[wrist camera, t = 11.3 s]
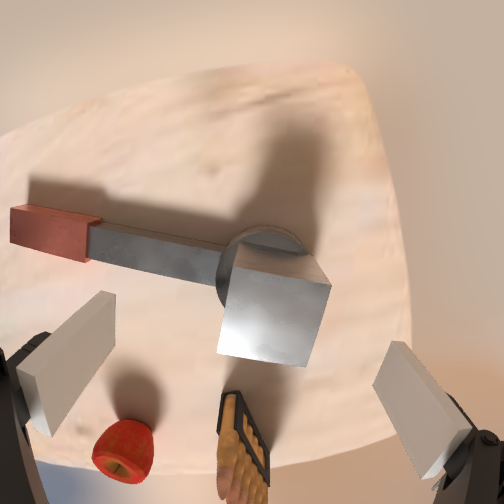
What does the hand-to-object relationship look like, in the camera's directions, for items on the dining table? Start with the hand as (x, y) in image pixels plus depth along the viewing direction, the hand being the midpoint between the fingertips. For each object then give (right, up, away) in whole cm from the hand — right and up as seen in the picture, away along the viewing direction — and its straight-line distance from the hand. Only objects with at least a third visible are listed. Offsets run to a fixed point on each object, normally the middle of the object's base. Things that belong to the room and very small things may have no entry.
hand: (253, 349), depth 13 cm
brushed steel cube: (+1, +2, +8) cm, 9 cm away
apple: (-13, -15, +16) cm, 26 cm away
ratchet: (-9, +5, +11) cm, 15 cm away
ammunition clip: (-1, -14, +15) cm, 21 cm away
